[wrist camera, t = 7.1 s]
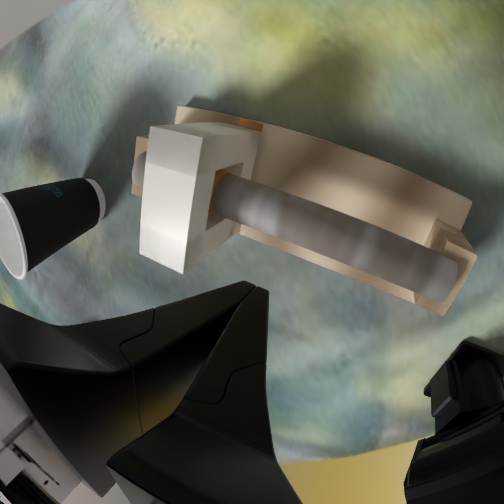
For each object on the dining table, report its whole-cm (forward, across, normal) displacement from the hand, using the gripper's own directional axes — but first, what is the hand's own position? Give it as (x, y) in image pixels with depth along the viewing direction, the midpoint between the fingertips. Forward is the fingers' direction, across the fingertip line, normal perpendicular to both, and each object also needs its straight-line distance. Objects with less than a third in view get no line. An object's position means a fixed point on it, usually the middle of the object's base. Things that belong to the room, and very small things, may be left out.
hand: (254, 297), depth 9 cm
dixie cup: (+13, +22, +7) cm, 27 cm away
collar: (+11, +6, 0) cm, 13 cm away
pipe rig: (+12, +1, 0) cm, 13 cm away
